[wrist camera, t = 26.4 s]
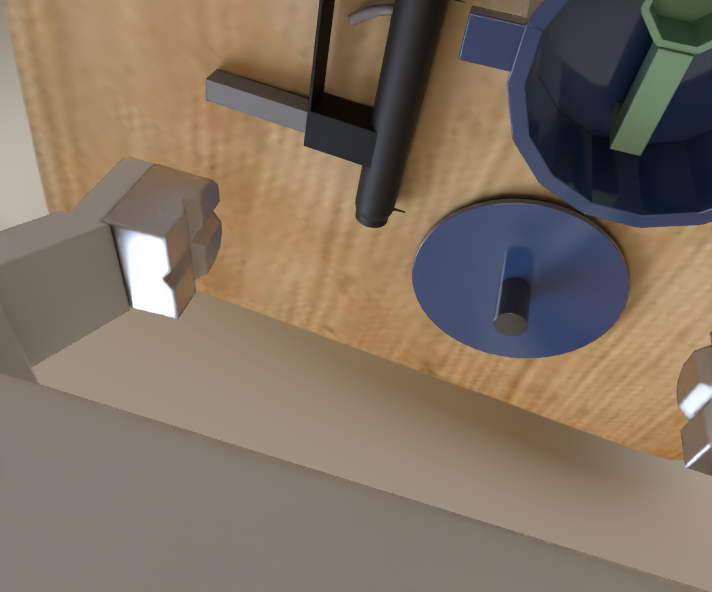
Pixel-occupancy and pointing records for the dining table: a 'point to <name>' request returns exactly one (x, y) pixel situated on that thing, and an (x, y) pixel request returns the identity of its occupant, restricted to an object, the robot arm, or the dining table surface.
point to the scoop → (660, 68)
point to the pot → (598, 109)
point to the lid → (520, 278)
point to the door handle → (349, 119)
